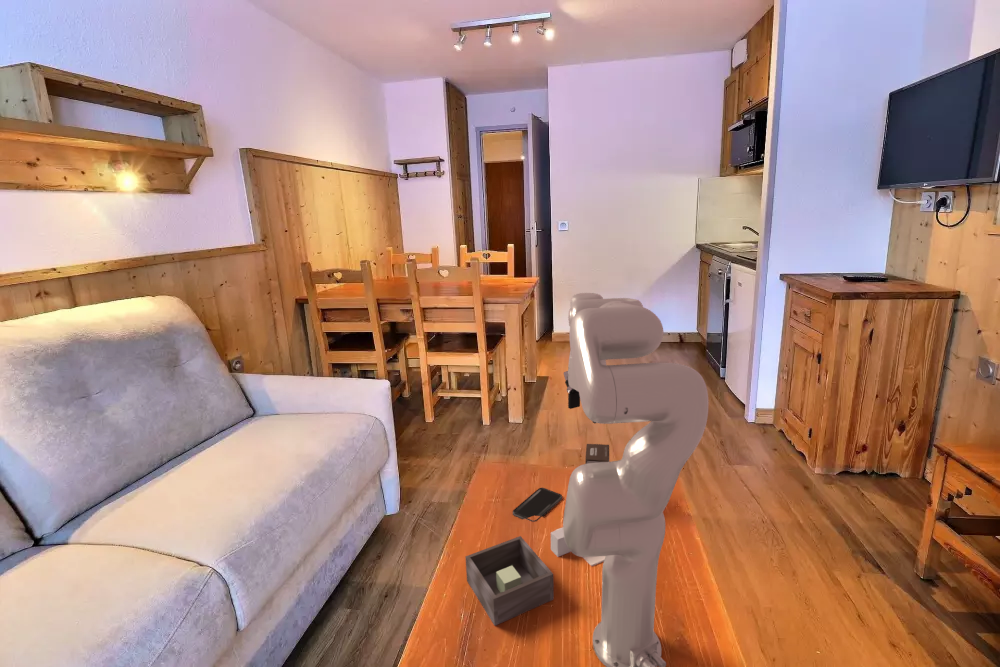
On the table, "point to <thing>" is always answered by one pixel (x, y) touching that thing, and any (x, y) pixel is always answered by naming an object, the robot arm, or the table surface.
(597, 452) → the coffee box
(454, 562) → the table surface
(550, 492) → the phone
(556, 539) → the lid
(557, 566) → the table surface
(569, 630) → the table surface
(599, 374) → the robot arm
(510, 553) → the box
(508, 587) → the cube
